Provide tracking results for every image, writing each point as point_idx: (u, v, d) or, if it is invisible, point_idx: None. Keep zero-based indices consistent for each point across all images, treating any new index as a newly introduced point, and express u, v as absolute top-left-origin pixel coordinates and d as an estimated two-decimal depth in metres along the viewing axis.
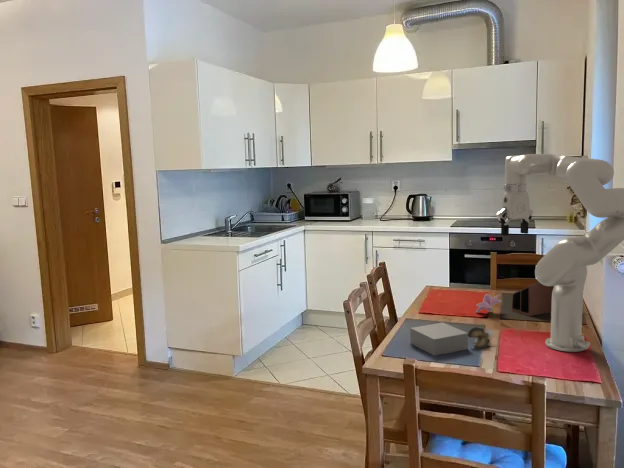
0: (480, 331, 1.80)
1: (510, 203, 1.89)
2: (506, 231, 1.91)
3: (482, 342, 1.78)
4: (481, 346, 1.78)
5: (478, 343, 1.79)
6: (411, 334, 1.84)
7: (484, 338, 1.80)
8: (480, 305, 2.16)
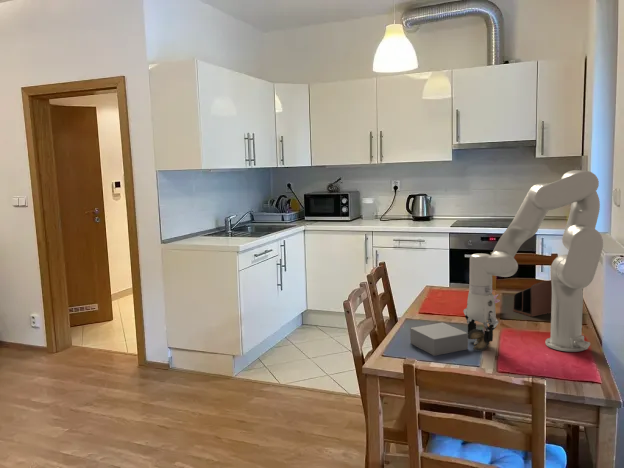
0: (480, 333, 1.79)
1: (494, 305, 1.77)
2: (491, 336, 1.78)
3: (482, 344, 1.77)
4: (481, 348, 1.76)
5: (478, 345, 1.77)
6: (411, 334, 1.84)
7: None
8: None
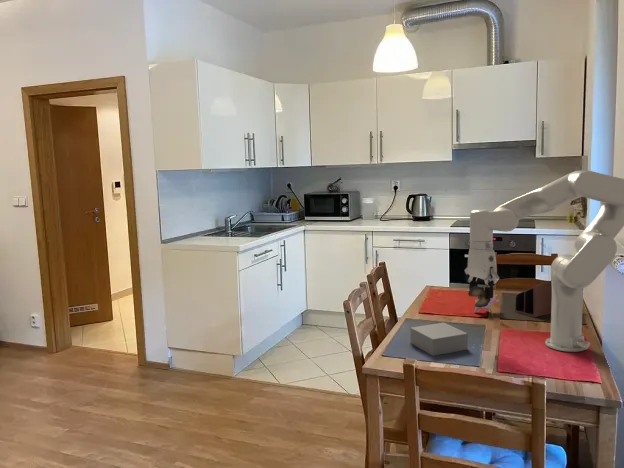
0: (481, 290, 1.77)
1: (495, 261, 1.75)
2: None
3: (483, 301, 1.75)
4: (482, 305, 1.74)
5: (479, 302, 1.75)
6: (411, 334, 1.84)
7: None
8: None
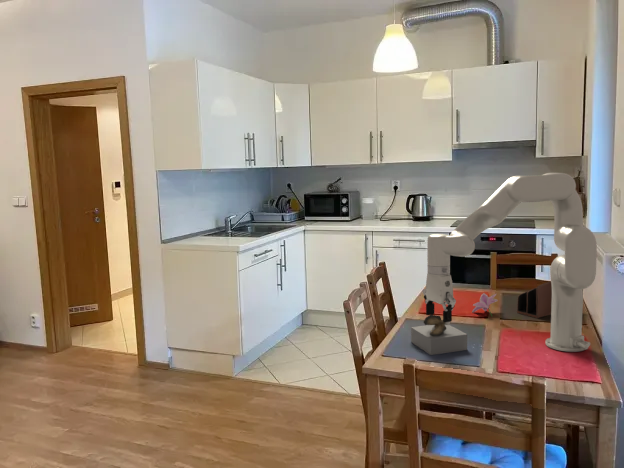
0: (437, 319, 1.78)
1: (452, 286, 1.75)
2: (450, 316, 1.75)
3: (438, 330, 1.76)
4: (437, 334, 1.75)
5: (434, 331, 1.76)
6: (411, 334, 1.85)
7: (441, 326, 1.77)
8: (477, 305, 2.17)
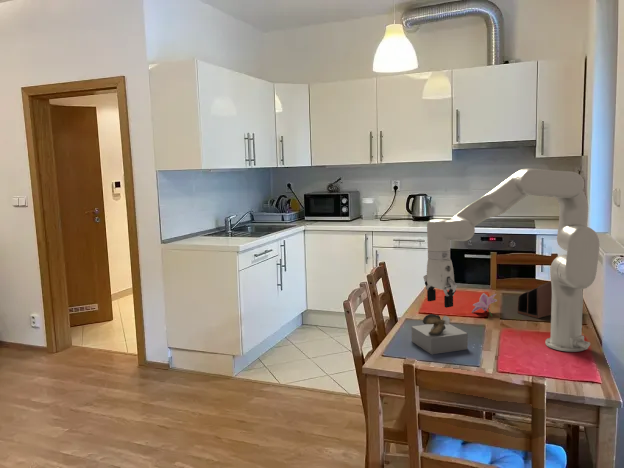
0: (436, 318, 1.78)
1: None
2: None
3: (437, 329, 1.76)
4: (435, 333, 1.75)
5: (433, 330, 1.77)
6: (412, 333, 1.86)
7: (440, 325, 1.78)
8: (477, 305, 2.17)
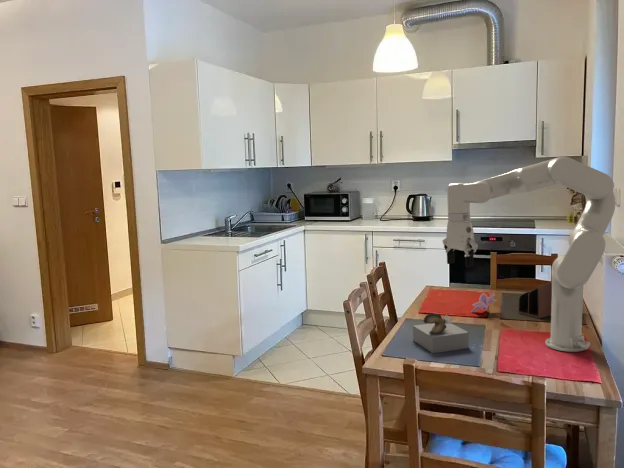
0: (437, 317, 1.79)
1: (473, 232, 1.80)
2: None
3: (438, 329, 1.77)
4: (436, 332, 1.76)
5: (434, 329, 1.78)
6: (413, 332, 1.87)
7: (440, 324, 1.79)
8: (476, 305, 2.17)
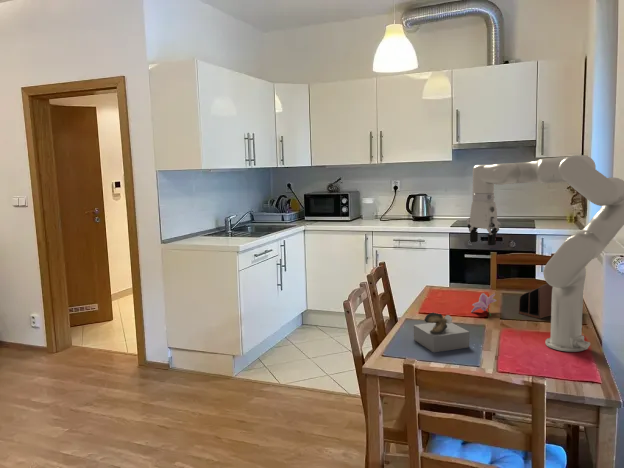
0: (438, 317, 1.80)
1: (496, 212, 1.89)
2: (494, 240, 1.89)
3: (439, 328, 1.78)
4: (437, 331, 1.77)
5: (434, 328, 1.78)
6: (414, 331, 1.87)
7: (441, 324, 1.79)
8: (476, 305, 2.17)
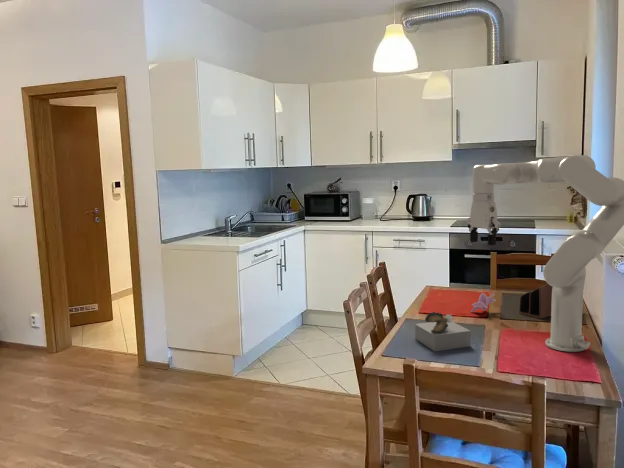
0: (438, 316, 1.80)
1: (496, 212, 1.89)
2: (494, 240, 1.90)
3: (440, 327, 1.78)
4: (438, 331, 1.78)
5: (435, 328, 1.79)
6: (416, 330, 1.88)
7: (442, 323, 1.80)
8: (476, 304, 2.17)
